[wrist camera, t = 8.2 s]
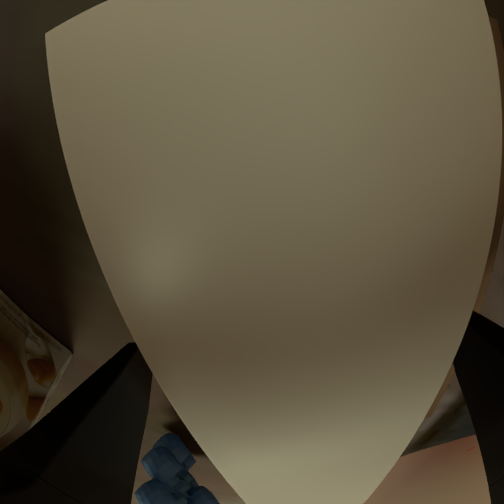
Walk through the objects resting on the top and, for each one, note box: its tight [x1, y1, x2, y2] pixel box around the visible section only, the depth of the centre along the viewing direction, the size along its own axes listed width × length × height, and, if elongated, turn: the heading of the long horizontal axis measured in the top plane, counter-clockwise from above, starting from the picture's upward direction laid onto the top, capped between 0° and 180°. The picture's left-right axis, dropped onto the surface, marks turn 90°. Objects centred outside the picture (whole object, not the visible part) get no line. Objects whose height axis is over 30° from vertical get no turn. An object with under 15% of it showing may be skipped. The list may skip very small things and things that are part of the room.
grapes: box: [135, 433, 220, 504], centre depth 18 cm, size 12×7×12 cm, turn 1°
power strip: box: [45, 0, 502, 504], centre depth 8 cm, size 4×14×7 cm, turn 9°
